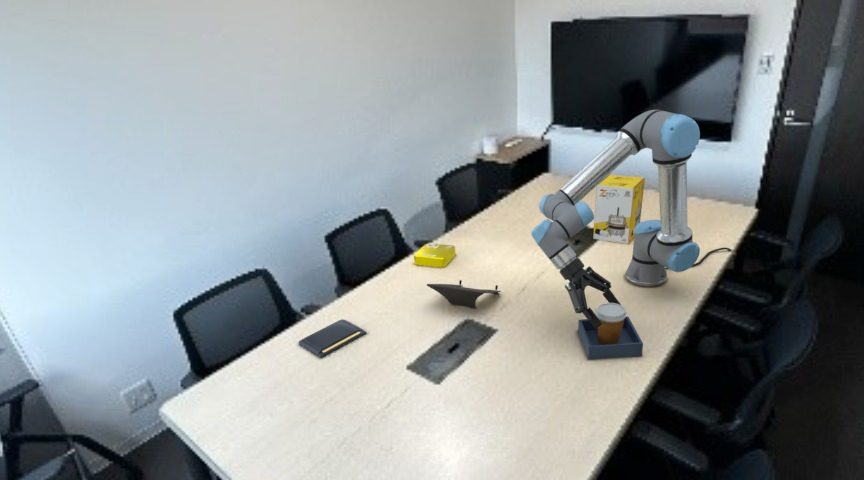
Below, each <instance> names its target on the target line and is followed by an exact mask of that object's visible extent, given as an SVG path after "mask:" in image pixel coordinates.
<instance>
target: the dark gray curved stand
mask: <svg viewBox="0 0 864 480" xmlns="http://www.w3.org/2000/svg"><path fill="white" fill-rule="evenodd" d="M426 286H427V287H428V288H431V289H433V290H434V291H435V292H437V293H438V294H440V295H441V296H442V297H443V298H445V300H447V302H448V303H449V304H450V305H451V306H458V307H466V308H470V309H477V306H476V301H477V300H478V299H479V297H481V296H483V295H484V294H493V295H496V296H500V293H501V292H502V290H498V289H499V285H498V284H496V285H495V286H494V287H495V288H494V289H479V288H472V287H466V286H464V285H462V279H460V280H459V281H458V284H453V283H426Z"/></svg>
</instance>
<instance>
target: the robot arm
mask: <svg viewBox="0 0 864 480" xmlns="http://www.w3.org/2000/svg"><path fill="white" fill-rule="evenodd" d="M700 137H701V131H700V127H699V124H698V123H697V122H696V121H695V119H693V118H691V117H690V116H687V115H686V114H682V113H674V112H670V111H666V110H662V109H651V110H647V111H645V112H642V113H641V114H638V115H637V116H635V117H634V118H633V119H631V120H630V121H629V122H627V123H626V124H625V125H624V126H622V127H621V128H620V129H619V130H618V131H617V132H616V134H615V138H614V139H613V140H611V142H609V143H608V144H607V145H606V146H605V147H604V148H603V149H602V150H601V151H600V152H599V153H598V154H597V155H596V156H594V158H592V159H591V160H590V161H589V162H588V163H586V164H585V165H584V167H582V168H581V169H580V170H579V171H578V172H576V174H574V176H573V177H571V178H570V179H569V180H568V181H567V182H566V183H565V184H564V185H563V186H562V187H561V188H559V190H558V191H556V192H555V193H548V194H545V195H543V196H542V197H541V199H540V201H539V204H538V208H539V211H540V213H541V214H542V215H543V216H544V217H545V218H546V219H544V220H543V221H541V222H540V223H538V225H536V226H535V227H534V228H533V229H532V230H531V232H530V234H531V237H532V238H533V240H534V242H535V243H536V245H537V246H538V247H539V248H540V250H541V251H542V253H544V254H545V255H546V257H547V259H549V261H550V262H551V264H552V265H553V266H554V267H555V268H556V270H559V274H560V275H561V277H562V278H563V279H564V280H565V281H568V283H567V284H565V285H564V288H565V290H566V291H567V293H568V295H569V298H570V301H571V304H572V306H573V309H574V312H575V313H576V314H582V315H583V316H584V317H585V319H588V320H589V321H590V322H591V324H592V325H593V326H594V327H595V329H596V328H597V327H599V326H601V325H602V323H601V321H600V320H599V319H598V317H597V316H596V313H595V311H593V310H592V308H591V307H590V306H589V307H588V303H587V297H586V291H585V290H586V288H587V287H590V288H593V289H596V290H597V291H600V292H602V296H603V297H604V298H605V300H606V301H607V303H616V304H619V305H622V304H621V302H620V301H619V300H618V299H617V297H616V296H615V294H614V292H613V291H612V290H611V288H612V285H611V284H612V283H611V282H610V281H609V280H607V279H606V278H605V277H604V276H602V275H600V274H599V273H598V272H596V271H595V270H594V269H593V268H592V267H591V266H587V267H585V264H584V262H583V261H582V260H581V258H580V257H577V253H576V252H575V250H574V249H573V248H572V247H571V246H570V245H569V243H568V242H567V241H569V240H570V239H571V238H572V237H574V236H575V235H576V234H578V233H579V232H580V231H582V230H583V229H585V228H587V226H588V225H590V224H591V223H592V222H593V221H594V217H595V213H594V212H593V210H592V208H591V206H590V205H589V204H588V203H587V202H585V201H583V199H584V198H585V197H586V196H587V195H589V193H591V192H592V191H593V190H594V189H596V186H597V185H598V184H599V183H600V182H601V181H603V180H604V179H605V178H606V177H607V176H608V175H611V174H612V173H613V172H614V171H615V170H616V169H617V168H618V167H619V166H620V165H622V164H623V162H625V161H626V160H627V159H628V158H629V157H631V156H636V155H637V154H638V153H639V152H640V151H642V150H644V149H650V150H651V157H652V159H651V160H652V164H655V165H656V166H657V173H658V174H657V175H658V176H657V177H658V199H659V200H658V201H659V219H647V220H643V221H640V223H638V224H637V226H636V229H635V233H634V234H635V235H634V238H633V245H632V246H633V247H632V257H631V261H630V262H629V264H628V267H627V269H626V271H625V276H624V277H625V280H626V281H627V282H628V283H630V284H631V285H634V286H637V287H642V288H653V287H654V288H655V287H659V286H662V285H664V284H665V283H666V281H667V279H668V275H667V270H669V271H672V272H675V273H683V272H685V271H687V270H689V269H690V268H691V267H696V266H699V265H700V264H701V263H702V262H703V261H704V260H705V259H706V258H707V257H708V256H709V255H710V254H712V253H715V252H719V251H725V250H727V251H728V252H732V249H731V248H729V247H719V248H716V249H713V250H712V249H711V250H710V251H708V252H707V253H706V254H705V255H704V256H703V257H701V259H700V260H699V261H698V262H697V260H698V258H699V257H700V253H701V248H700V246H699V244H698V243H697V242H694V241H693V230H692V228H691V227H689V225H688V171H687V167H688V165H687V162H688V161H690V159H691V158H692V155H693V153H694V152H695V150H697V147H696V146H698V145H699V143H700V139H701V138H700ZM584 268H585V269H584Z"/></svg>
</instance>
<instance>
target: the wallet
mask: <svg viewBox="0 0 864 480" xmlns="http://www.w3.org/2000/svg"><path fill="white" fill-rule="evenodd" d="M364 335H367V331H365V330H364V329H362V328H360V327H359V326H357V325H355V324H353V323H352V322H350V321H348V320H346V319H339V320H336V321H335V322H333V323H331V324H329V325H327V326H324V327H323V328H321V329H319V330H317V331H315V332H313V333H312V334H310V335H308V336H305V337H304V338H301V339H299V341H298V344H299V346H301V347H302V348H304V349H305V350H307V351H309V352H311V353H312V354H314V355H315V356H317V357H318V358H320V359H322V358H324V357H326V356H328V355H330V354H331V353H333V352H335V351H337V350H339V349H340V348H343V347H344V346H346V345H347V344H350V343H352V342H354V341H355V340H357V339H359V338H361V337H363V336H364Z"/></svg>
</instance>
